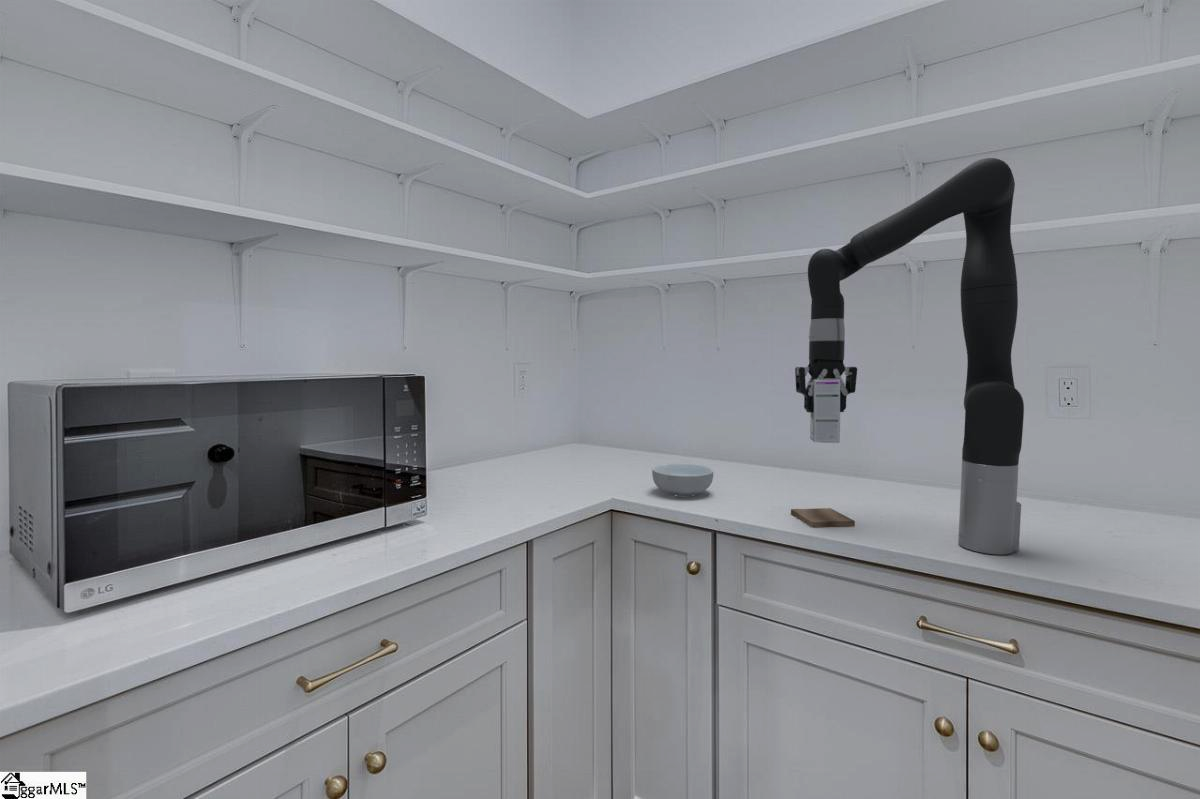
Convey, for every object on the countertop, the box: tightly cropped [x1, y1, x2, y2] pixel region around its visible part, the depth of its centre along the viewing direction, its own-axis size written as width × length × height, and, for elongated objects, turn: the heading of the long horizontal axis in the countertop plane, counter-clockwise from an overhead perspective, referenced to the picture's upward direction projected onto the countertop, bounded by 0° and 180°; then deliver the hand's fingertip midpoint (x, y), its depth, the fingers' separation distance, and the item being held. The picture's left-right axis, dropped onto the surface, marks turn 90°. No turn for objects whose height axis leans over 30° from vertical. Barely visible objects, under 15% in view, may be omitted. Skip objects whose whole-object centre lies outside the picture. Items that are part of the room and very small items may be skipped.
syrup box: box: [809, 378, 841, 444], centre depth 132 cm, size 6×6×14 cm
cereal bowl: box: [651, 462, 714, 497], centre depth 160 cm, size 17×17×7 cm
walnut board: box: [790, 507, 856, 528], centre depth 134 cm, size 10×11×1 cm
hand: (825, 411), depth 132 cm, fingers closed on syrup box, 6 cm apart
